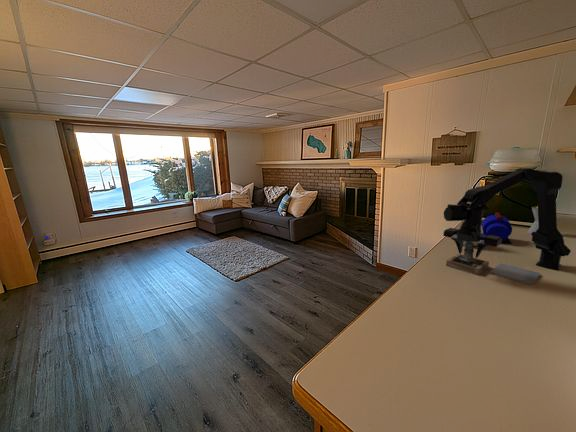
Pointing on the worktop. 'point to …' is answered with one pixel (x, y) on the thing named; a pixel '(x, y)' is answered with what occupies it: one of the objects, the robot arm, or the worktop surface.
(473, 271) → the walnut holder
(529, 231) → the lava lamp
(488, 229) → the alarm clock
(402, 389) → the worktop surface
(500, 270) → the slate coaster
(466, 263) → the salt shaker
